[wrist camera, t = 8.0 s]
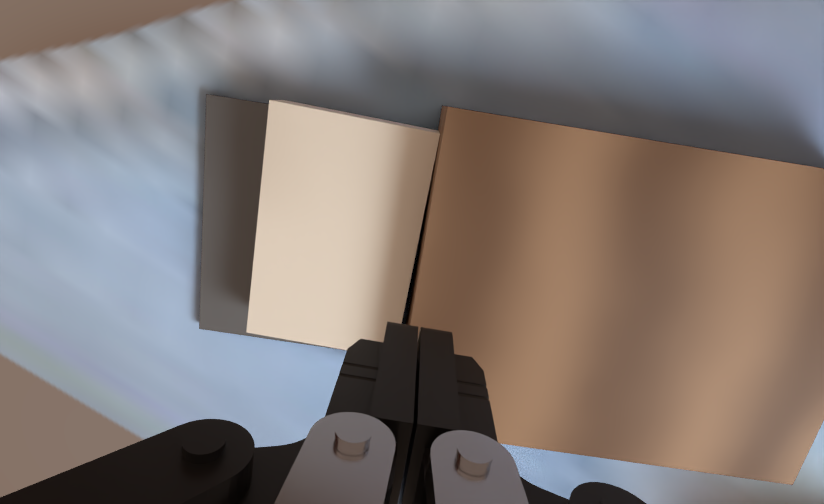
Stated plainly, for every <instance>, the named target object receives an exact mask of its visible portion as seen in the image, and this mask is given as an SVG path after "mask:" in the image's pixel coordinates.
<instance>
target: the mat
mask: <svg viewBox="0 0 824 504" xmlns="http://www.w3.org/2000/svg"><path fill="white" fill-rule="evenodd" d="M268 108H269V104H265V103H259V102H253V101H247V100H241V99H234V98H228V97H222V96H216V95H207V94H206V121H205V154H204V188H203V221H202V255H201V288H200V322H199V329H205V330H212V331H218V332H225V333H232V334H239V335H246V336H253V337H259V338H266V339H273V340H280V341H287V342H293V343H300V344H307V345H314V344H309V343H303V342H297V341H292V340H286V339H280V338H275V337H269V336H263V335H258V334H252V333H247V332H246V330H247V320H248V310H249V300H250V290H251V280H252V270H253V259H254V249H255V239H256V229H257V219H258V209H259V199H260V189H261V179H262V169H263V159H264V149H265V138H266V128H267V118H268ZM314 346H320V345H314ZM321 347H326V346H321ZM327 348H331V347H327ZM334 349H337V348H334ZM341 350H343V349H341Z"/></svg>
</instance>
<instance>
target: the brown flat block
mask: <svg viewBox="0 0 824 504" xmlns="http://www.w3.org/2000/svg"><path fill="white" fill-rule="evenodd" d="M438 131H439V133H440V137H439V142H438V147H437V152H436V157H435V161H434V166H433V171H432V176H431V181H430V186H429V191H428V196H427V201H426V206H425V211H424V216H423V222H422V228H421V234H420V240H419V246H418V252H417V258H416V264H415V270H414V276H413V282H412V287H411V293H410V299H409V305H408V311H407V317H406V323H405V324H406V325H412V326H418V336H419V331H420V328H421V327H425V328H431V329H437V330H443V331H449V332H452V334H453V345H454V354H457V355H463V356H469V357H473V359H474V360H475V361H476V362H477V363H478V365H479V366H480V367H481V368H482V369H483V371H484V375H485V380H486V385H487V386H486V388H487V390H488V395H489V400H490V405H491V410H492V415H493V420H494V425H495V430H496V436H497V441H498V443H501V444H508V445H515V446H522V447H529V448H536V449H543V450H550V451H557V452H564V453H571V454H578V455H585V456H592V457H600V458H607V459H614V460H621V461H628V462H635V463H642V464H649V465H656V466H663V467H670V468H677V469H684V470H691V471H698V472H705V473H712V474H719V475H726V476H733V477H740V478H747V479H754V480H762V481H769V482H776V483H783V484H790V485H793V483H794V481H795V479H796V477H797V475H798V473H799V471H800V469H801V467H802V464H803V462H804V460H805V458H806V456H807V454H808V452H809V450H810V448H811V446H812V444H813V442H814V439H815V437H816V435H817V433H818V431H819V429H820V427H821V425H822V423H823V421H824V168H818V167H812V166H806V165H800V164H794V163H788V162H782V161H776V160H770V159H764V158H758V157H752V156H745V155H739V154H733V153H727V152H721V151H715V150H709V149H703V148H697V147H691V146H685V145H679V144H673V143H666V142H660V141H654V140H648V139H642V138H636V137H630V136H624V135H618V134H612V133H606V132H600V131H594V130H587V129H581V128H575V127H569V126H563V125H557V124H551V123H545V122H539V121H533V120H527V119H521V118H515V117H508V116H502V115H496V114H490V113H484V112H478V111H472V110H466V109H460V108H454V107H448V106H442V109H441V115H440V121H439V127H438Z"/></svg>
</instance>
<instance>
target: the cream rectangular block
mask: <svg viewBox="0 0 824 504" xmlns="http://www.w3.org/2000/svg"><path fill="white" fill-rule="evenodd" d="M439 137H440V133H439V131H438V130H433V129H428V128H423V127H418V126H413V125H408V124H403V123H398V122H393V121H388V120H383V119H378V118H373V117H368V116H363V115H358V114H353V113H348V112H343V111H337V110H332V109H327V108H322V107H317V106H312V105H307V104H302V103H297V102H292V101H287V100H269V108H268V118H267V128H266V138H265V149H264V159H263V169H262V179H261V189H260V199H259V209H258V219H257V229H256V239H255V249H254V259H253V270H252V280H251V290H250V300H249V310H248V320H247V330H246V332H247V333H252V334H258V335H263V336H269V337H275V338H280V339H286V340H292V341H297V342H303V343H309V344H314V345H320V346H326V347H331V348H337V349H343V350H347V349H348V348H349V347H350V346H352V345H353V344H354V343H356V342H357V341H358V340H360V339H366V340H372V341H378V342H383V341H384V336H385V331H386V326H387V321H388V322H394V323H400V324H402V319H403V314H404V309H405V304H406V299H407V294H408V290H409V285H410V280H411V275H412V270H413V265H414V260H415V255H416V250H417V245H418V240H419V235H420V230H421V226H422V221H423V216H424V211H425V206H426V201H427V196H428V191H429V186H430V181H431V176H432V171H433V166H434V161H435V157H436V152H437V147H438V142H439Z"/></svg>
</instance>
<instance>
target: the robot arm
mask: <svg viewBox="0 0 824 504" xmlns="http://www.w3.org/2000/svg"><path fill="white" fill-rule="evenodd" d="M486 386H487V385H486V380H485V375H484V371H483V369H482V368H481V367H480V366H479V365H478V363H477V362H476V361H475V360H474V359H473V357H469V356H463V355H457V354H454V345H453V334H452V332H449V331H443V330H437V329H431V328H425V327H421V328H420V331H419V336H418V326H412V325H406V324H400V323H394V322H388V321H387V326H386V331H385V336H384V341H383V342H378V341H372V340H366V339H360V340H358V341H357V342H356V343H354V344H353V345H352V346H350V347H349V348H348V349H347V352H346V355H345V358H344V361H343V364H342V367H341V370H340V374H339V376H338V379H337V382H336V385H335V388H334V391H333V394H332V397H331V400H330V403H329V406H328V409H327V412H326V415H325V417H324V418H322V419H320V420H319V421H317V422H316V423H315V424H314V425H313V426H312V428H311V429H310V431H309V433H308V435H307V437H306V438H305V439H303V440H301V441H298V442H295V443H292V444H287V445H281V446H271V447H258V448H254V440H253V438H252V436H251V434H250V433H249V432H248V431H247V430H246V429H245V428H243V427H242V426H240V425H238V424H236V423H233V422H230V421H226V420H220V419H204V420H196V421H192V422H188V423H185V424H182V425H180V426H177V427H175V428H172V429H170V430H167V431H165V432H162V433H160V434H157V435H155V436H152V437H150V438H147V439H145V440H142V441H140V442H137V443H135V444H132V445H130V446H127V447H125V448H123V449H120V450H117V451H115V452H112V453H110V454H107V455H105V456H103V457H100V458H98V459H95V460H93V461H91V462H88V463H85V464H83V465H80V466H78V467H75V468H73V469H70V470H68V471H65V472H63V473H60V474H58V475H55V476H53V477H51V478H48V479H46V480H43V481H40V482H38V483H36V484H33V485H30V486H28V487H25V488H23V489H21V490H18V491H16V492H13V493H11V494H8V495H6V496H3V497H1V498H0V504H646V503H645V502H643V501H642V500H640V499H639V498H638V497H636V496H635V495H633V494H631V493H629V492H628V491H625V490H623V489H621V488H619V487H616V486H613V485H610V484H606V483H600V482H588V483H583V484H581V485H579V486H577V487H576V488H575V489H574V490H573V491H572V493H571V496H570V499H569V500H568V499H566V498H563V497H561V496H558V495H556V494H553V493H551V492H549V491H546V490H544V489H541V488H539V487H537V486H535V485H533V484H531V483H529V482H528V481H526V480H525V479H523V478H522V477H520V475H519V472H518V469H517V466H516V464H515V461H514V459H513V457H512V456H511V454H510V453H509V452H508V451H507V450H506V449H505V448H504V447H503V446H502V445H501V444H500V443H498V441H497V436H496V430H495V425H494V420H493V415H492V410H491V405H490V400H489V395H488V390H487V388H486Z"/></svg>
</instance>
